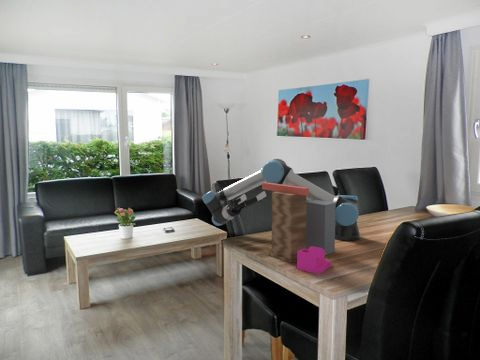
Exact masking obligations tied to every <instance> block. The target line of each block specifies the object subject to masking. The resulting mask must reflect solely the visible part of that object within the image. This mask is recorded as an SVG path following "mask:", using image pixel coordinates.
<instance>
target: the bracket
mask: <svg viewBox="0 0 480 360" xmlns="http://www.w3.org/2000/svg"><path fill="white" fill-rule="evenodd" d="M324 255H325V256H327V255H326V253H325V251H324V249H323V248H319V247H314V246H311V247H309V250H308V249H301V250H299V251H297V261H296V263H297V264H296V269H297V270H301V271H304V272H305V271H306V272H309V273H314V274H318V275H321V274H322V273H324V272H325V271H326V270H328V269H329V268H330V267H332V262H331V261H330V260H327V259H326V258H325V256H324Z"/></svg>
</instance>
